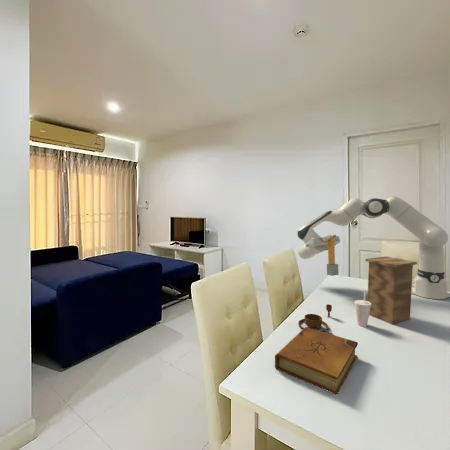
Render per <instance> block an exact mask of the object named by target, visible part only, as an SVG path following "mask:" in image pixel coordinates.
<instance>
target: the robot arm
mask: <svg viewBox="0 0 450 450" xmlns="http://www.w3.org/2000/svg"><path fill="white" fill-rule="evenodd" d="M384 214H385V215H388V216H391V218H392V219H394V220H395V221H396V223H399V224H400V225H401V226H402V227H403V228H405V229H406V230H408V231H409V232H410V233H411V234H412V235H413V236H415V237H416V238H418V250H419V252H418V253H419V254H418V257H419V259H418V268H417V271H416V275H415V277H414V278H412V290H411V295H416V296H419V297H422V298H427V299H432V300H444V299H447V298H448V299H449V297H450V294H448V282H447V281H446V280H445V277H446V275H445V274H446V273H445V270H444V269H445V249H444V246H445V245H446V244H447V243H448V240H449V234H448V232H447V231H446V230H445V229H443V228H442V227H441V226H439V224H437V223H435V222H434V221H433V220H431V219H430V218H428V217H427V216H425V215H424V213H421V212H420V211H419V210H417V208H415V207H413V206H412V205H411V204H409V203H408V202H407V201H405V200H403V199H401V198H399V197H397V196H391V197H388V198H387V199H382V198H370V199H369V200H367V201H365V202H364V201H362V200H361V199H359V198H355V197H353V198H351V199H350V200H347V202H345V203H343V205H341V206H340V207H338V208H337V209H336V210H328V211H325V212H324V213H322V214H321V215H319V216H317V217H316V218H314V219H313V220H311V221H310V222H307V224H304V225H303V226H301V227H299V229H298V230H297V238H299V240H301V241H303V242H304V244H303V245H302V246H301V247H300V248H299V249H298V251H297V254H298V256H299V257H300V258H301V259H302V260H308V259H310V258H313V257H314V256H315V255H318V254H320V253H322V252H325V251H328V239H331V238H332V237H331V236H334V245H335V246H337V245H338V244H339V243H341V239H340V237H339V236H338V235H336V234H333V235H331V234H330V235H326V236H320V234H318V233H317V232H316V231H315V230H314V228H316V227H317V226H318V225H320V224H322V223H324V222H329V223H332V224H334V225H337V226H341V227H346V226H349V224H351V223H352V222H353V221H354V220H356V219H357V218H358V217H359V216H360V215H362V216H364V217H366V218H368V219H376V218H379V217H381V216H382V215H384Z"/></svg>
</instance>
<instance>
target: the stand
mask: <svg viewBox="0 0 450 450" xmlns="http://www.w3.org/2000/svg"><path fill="white" fill-rule="evenodd" d="M365 262H367V263H368V276H367V277H368V280H367V301H368V302H370V303H371V307H370V312H369V317H370V316H371V317H373V318H375V319H378V320H380V321H383V322H386V323H388V324H390V325H392V326H393V325H396V324H400V323H403V322H406V321H410V320H411V309H412V294H411V290H412V285H413V284H412V280H413V269H414V268H413V267H414V266H416V265H418V262H417V261H412V260H407V259H402V258H396V257H393V256H392V257H391V256H379V257H378V256H377V257H371V258H369V257H368V258H365Z"/></svg>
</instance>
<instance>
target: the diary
mask: <svg viewBox="0 0 450 450" xmlns="http://www.w3.org/2000/svg"><path fill="white" fill-rule="evenodd" d="M303 328H304V329H303V330H302V329H301V331H299V332H298V333H297V335H295V336H294V337H293V338H292V339H290V341H289V342H288V343H287V344H285V346H284V347H282V349H280V350H279V351H278V352H277V353H276V354H275V355H274V368H275V370H277V371H280V372H282V373H285V374H287V375H289V376H291V377H294V378H296V379H298V380H300V381H303V382H305V383H308V384H310V385H312V384H313V385H312V386H314V387H317V386H318V387H317V388H319V387H320V388H319V389H322V388H323V389H322V390H324V389H325V390H324V391H326V390H328V391H327V392H329V391H330V392H329V393H331V392H332V394H333V393H334V395H336V394H339V393H340V391H341V389H342V387H343V385H344V383H345V381H346V379H347V377H348V376H349V374H350V372H349V371H351V370H350V369H352V368H353V366H354V364H355V362H356V360H357V358H358V355H357V354H356V348H357V347H358V345H359V343H358V341H356V340H353V339H352V340H351V339H348V338H345V337H342V336H337V335H335V334H328V333H329V332H321V330H318V329H311V328H309V327H308V326H305V327H303ZM341 386H342V387H341ZM340 388H341V389H340ZM339 390H340V391H339ZM338 392H339V393H338Z"/></svg>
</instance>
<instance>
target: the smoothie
mask: <svg viewBox="0 0 450 450" xmlns="http://www.w3.org/2000/svg"><path fill="white" fill-rule="evenodd" d="M354 305H355V312H356V313H355V314H356V323H357V325H358V326H360V327H365V328H366V327H367V326H368V322H369V318H370V315H369V312H370V307H371V303H370V302H368V300H366V292H365V291H364V292H363V299H356V300H354Z"/></svg>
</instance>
